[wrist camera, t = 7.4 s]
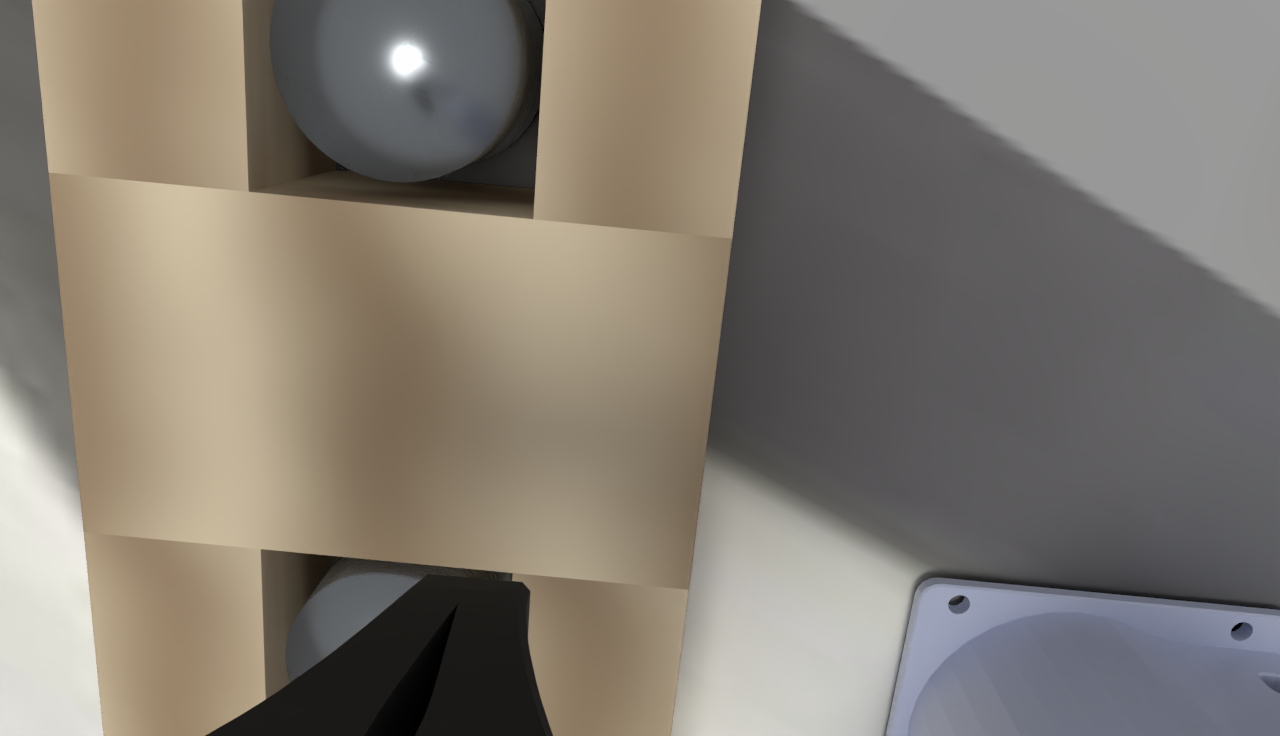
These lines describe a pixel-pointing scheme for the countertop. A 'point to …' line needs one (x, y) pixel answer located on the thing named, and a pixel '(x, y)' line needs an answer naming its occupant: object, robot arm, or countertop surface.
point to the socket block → (387, 350)
